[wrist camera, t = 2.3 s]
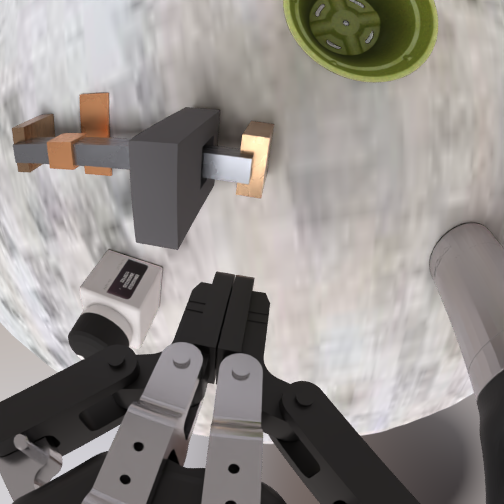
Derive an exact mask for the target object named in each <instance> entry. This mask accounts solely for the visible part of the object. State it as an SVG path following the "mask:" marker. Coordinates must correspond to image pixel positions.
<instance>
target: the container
mask: <svg viewBox="0 0 504 504" xmlns="http://www.w3.org/2000/svg"><path fill="white" fill-rule="evenodd" d="M162 270H163V269H162V267H160V266H157V265H154V264H151V263H148V262H144V261H141V260H138V259H135V258H132V257H129V256H126V255H123V254H120V253H117V252H114V251H111V250H108V251H107V252H106V253H105V254H104V256H103V257H102V258H101V260H100V261H99V262H98V264H97V265H96V266H95V268H94V269H93V270H92V272H91V273H90V274H89V276H88V277H87V278H86V280H85V281H84V282H83V284H82V285H81V287H80V289H79V291H80V297H81V303H82V308H83V312H82V314H81V315H80V317H79V319H78V320H77V322H76V323H75V325H74V327H73V328H72V330H71V331H70V333H69V335H68V340H69V344H70V346H71V348H72V350H73V351H74V352H75V353H76V354H77V355H78V357H79V358H81V359H82V360H83V359H85V358H87V357H89V356H91V355H93V354H95V353H97V352H99V351H101V350H102V349H104V348H106V347H108V346H111V345H116V344H118V345H125V346H127V347H129V346H130V347H133V348H135V349H140V348H141V347H142V344H143V342H144V340H145V338H146V335H147V333H148V331H149V329H150V326H151V324H152V322H153V320H154V318H155V316H156V313H157V311H158V309H159V303H160V291H161V280H162Z"/></svg>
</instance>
